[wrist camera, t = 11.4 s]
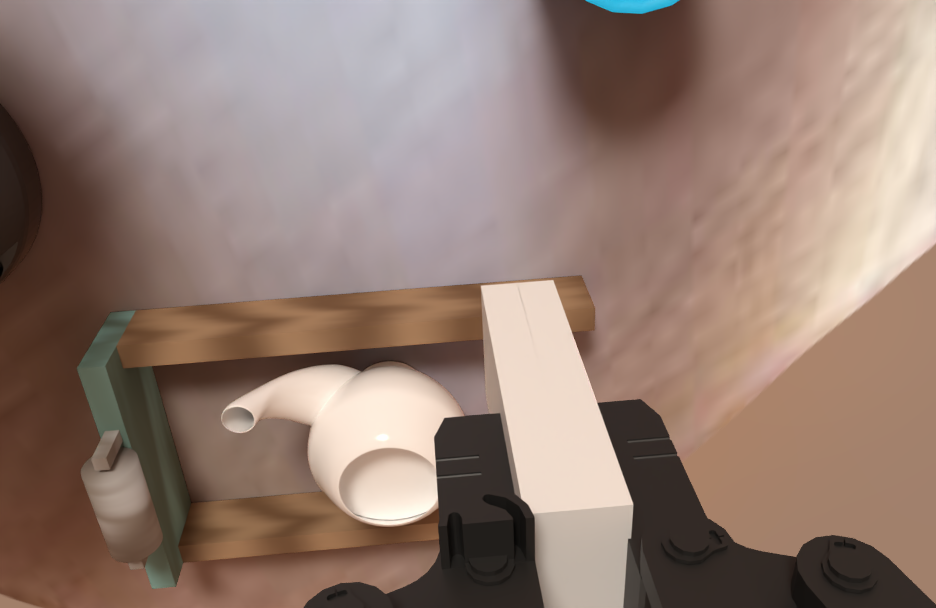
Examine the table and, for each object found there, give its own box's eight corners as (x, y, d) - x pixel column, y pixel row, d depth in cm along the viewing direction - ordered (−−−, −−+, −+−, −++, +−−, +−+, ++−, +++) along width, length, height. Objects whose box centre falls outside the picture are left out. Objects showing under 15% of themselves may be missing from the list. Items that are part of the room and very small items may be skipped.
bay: (163, 521, 58) (126, 629, 50) (97, 313, 49) (41, 403, 41) (576, 485, 59) (604, 584, 51) (581, 275, 50) (615, 355, 43)
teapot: (475, 495, 59) (488, 600, 51) (215, 377, 52) (182, 475, 44) (555, 401, 55) (583, 498, 47) (287, 261, 48) (265, 346, 40)
